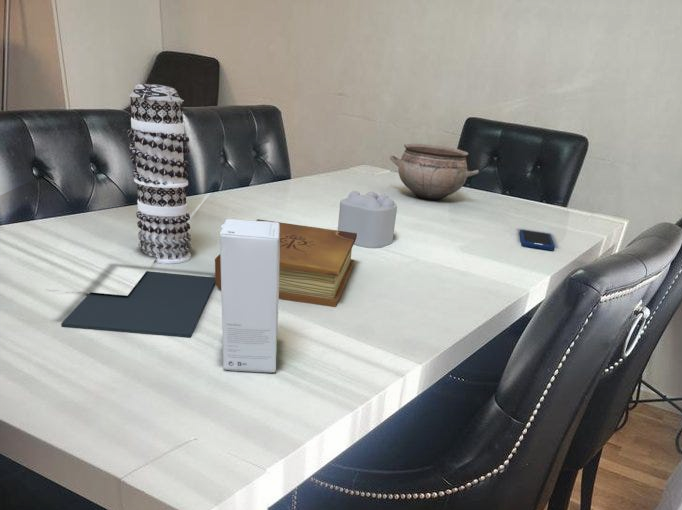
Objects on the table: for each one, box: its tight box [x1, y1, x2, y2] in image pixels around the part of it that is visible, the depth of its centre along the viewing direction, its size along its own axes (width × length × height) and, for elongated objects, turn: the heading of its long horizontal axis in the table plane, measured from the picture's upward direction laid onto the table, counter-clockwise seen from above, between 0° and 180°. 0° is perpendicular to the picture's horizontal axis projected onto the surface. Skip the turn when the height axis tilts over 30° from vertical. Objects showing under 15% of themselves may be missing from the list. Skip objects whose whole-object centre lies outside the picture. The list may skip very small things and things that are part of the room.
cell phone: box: [519, 229, 556, 251], centre depth 149 cm, size 7×14×1 cm, turn 171°
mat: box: [60, 270, 216, 338], centre depth 92 cm, size 16×24×1 cm, turn 2°
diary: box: [214, 218, 357, 308], centre depth 107 cm, size 23×19×6 cm
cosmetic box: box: [219, 218, 280, 373], centre depth 75 cm, size 8×7×16 cm
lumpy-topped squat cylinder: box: [337, 190, 398, 249], centre depth 133 cm, size 10×13×9 cm
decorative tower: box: [126, 83, 192, 265], centre depth 103 cm, size 9×9×25 cm
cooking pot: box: [389, 143, 480, 201], centre depth 177 cm, size 25×19×12 cm
